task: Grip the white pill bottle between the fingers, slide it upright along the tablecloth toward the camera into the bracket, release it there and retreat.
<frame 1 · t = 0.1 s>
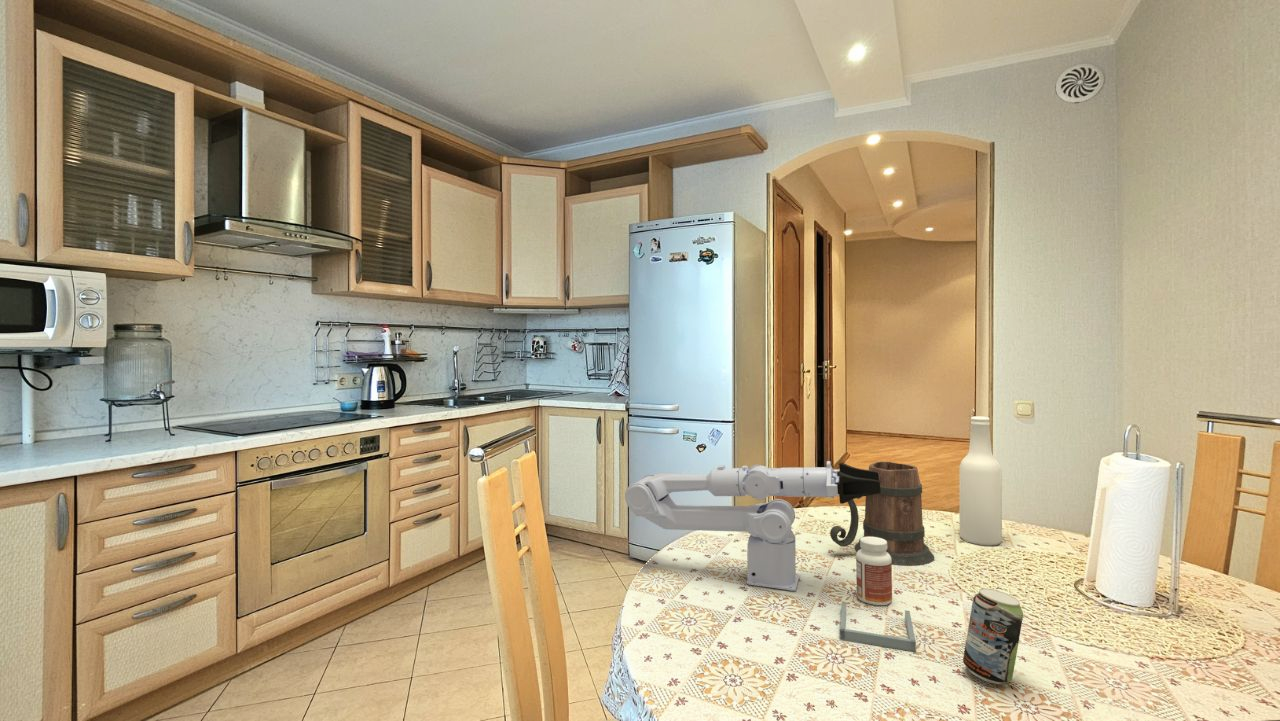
hand: (879, 482, 105), 22 cm above the table, tool horizontal, fingers open, 7 cm apart
beverage can: (992, 678, 79), on the table
pill bottle: (873, 600, 104), on the table
tankard: (880, 553, 128), on the table
alcohol: (980, 541, 135), on the table
bracket: (876, 629, 93), on the table
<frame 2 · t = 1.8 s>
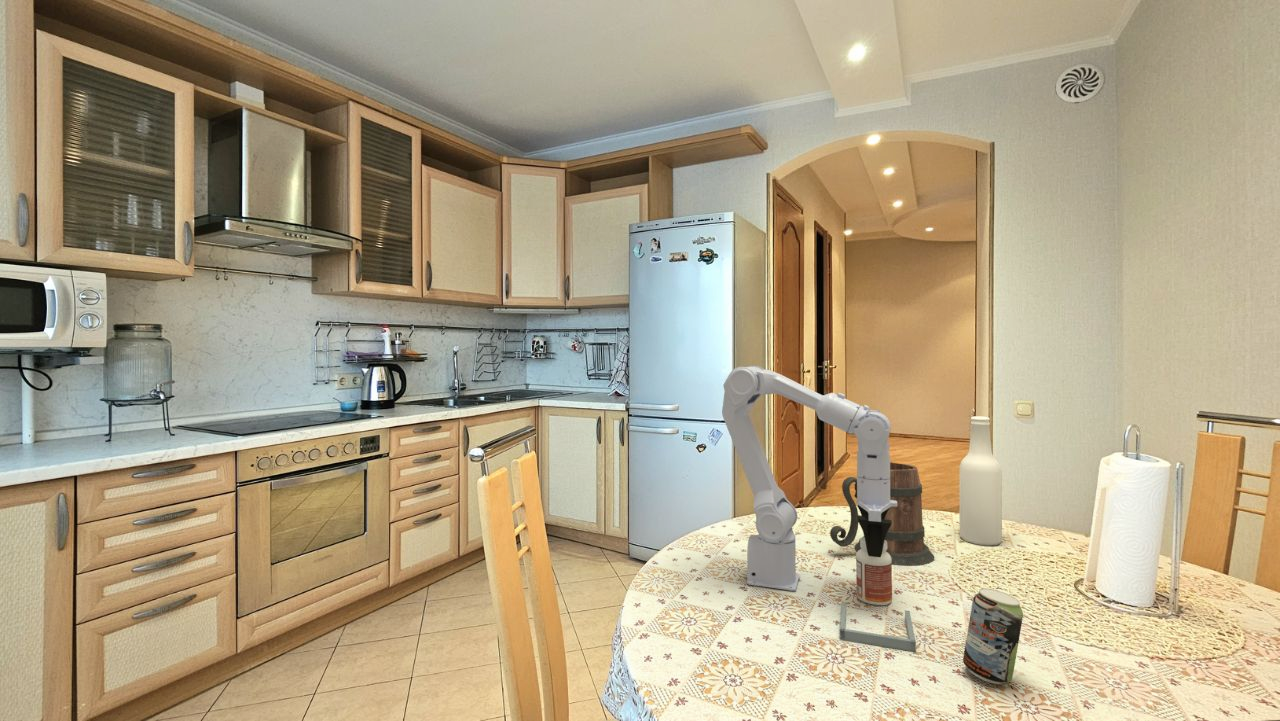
hand: (873, 549, 104), 9 cm above the table, tool pointing down, fingers open, 7 cm apart
nothing on the table moved.
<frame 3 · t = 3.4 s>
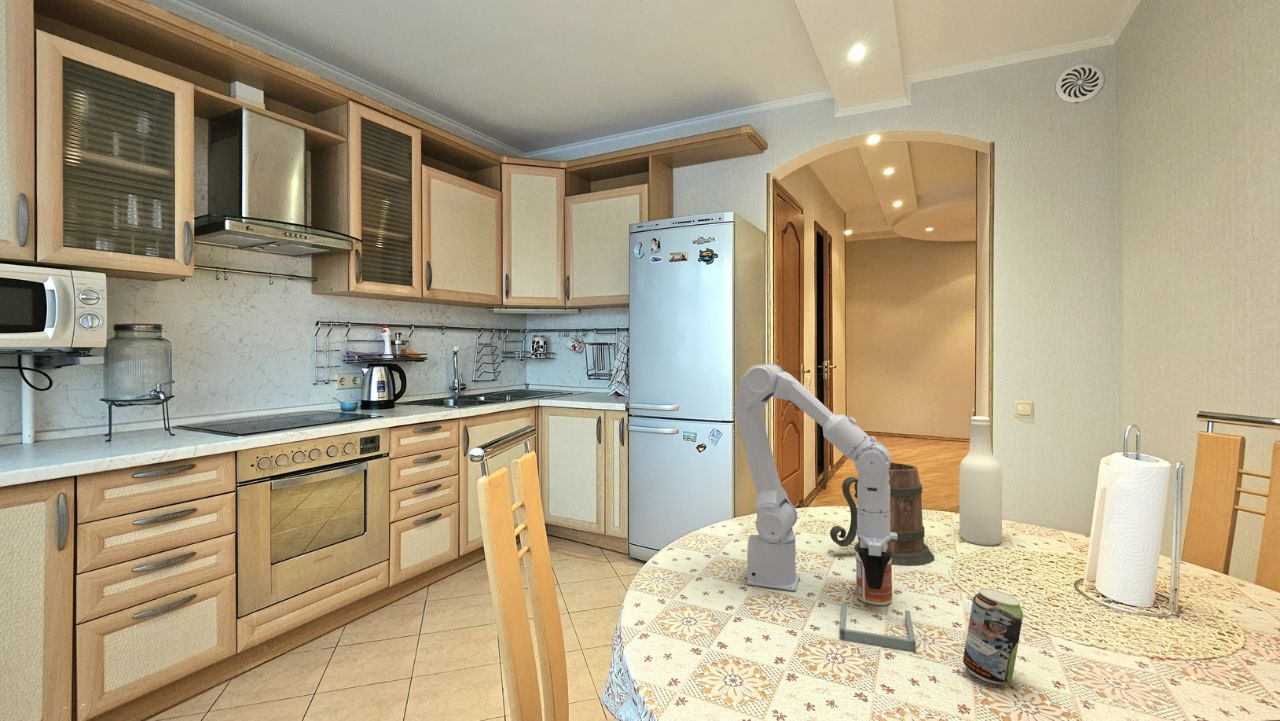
hand: (873, 580, 104), 3 cm above the table, tool pointing down, fingers closed on pill bottle, 6 cm apart
pill bottle: (873, 600, 104), on the table, touching gripper
everything else where it was.
when the fingers open (3 cm above the table, at t = 4.3 s): pill bottle moves 6 cm, on the table.
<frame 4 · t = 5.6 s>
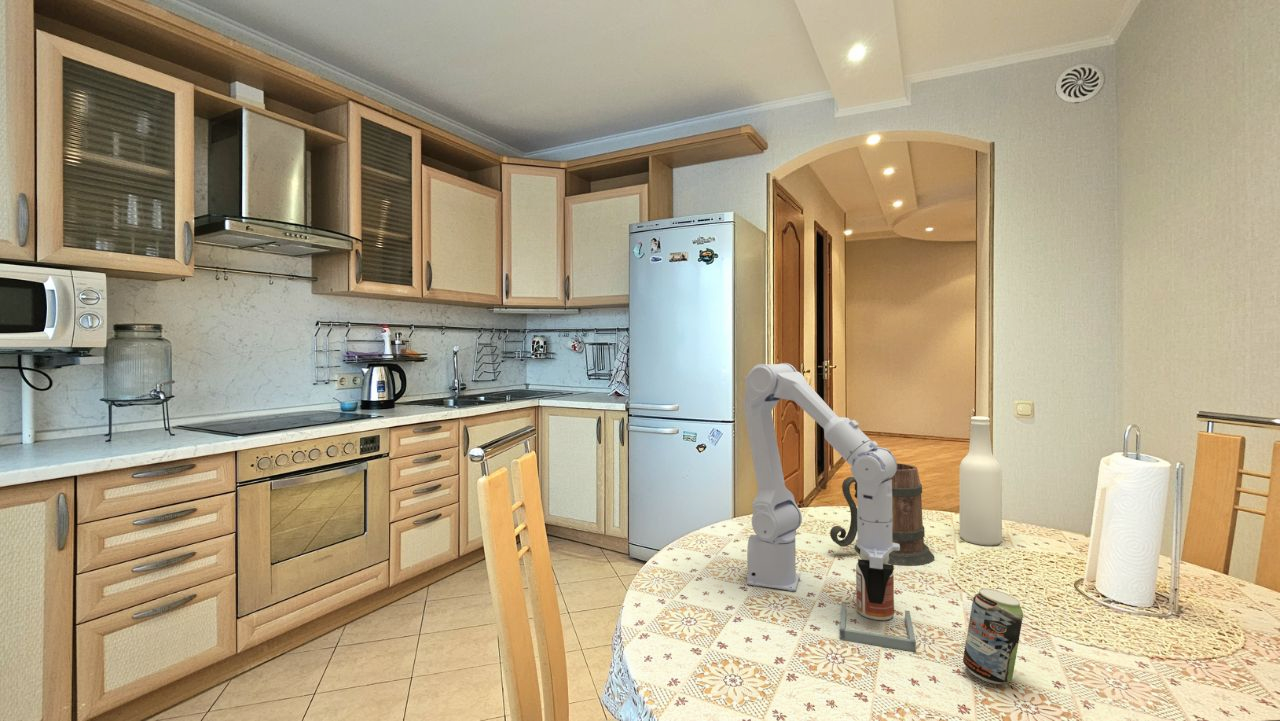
hand: (874, 594, 98), 3 cm above the table, tool pointing down, fingers open, 6 cm apart
pill bottle: (874, 614, 99), on the table, touching gripper
everything else where it was.
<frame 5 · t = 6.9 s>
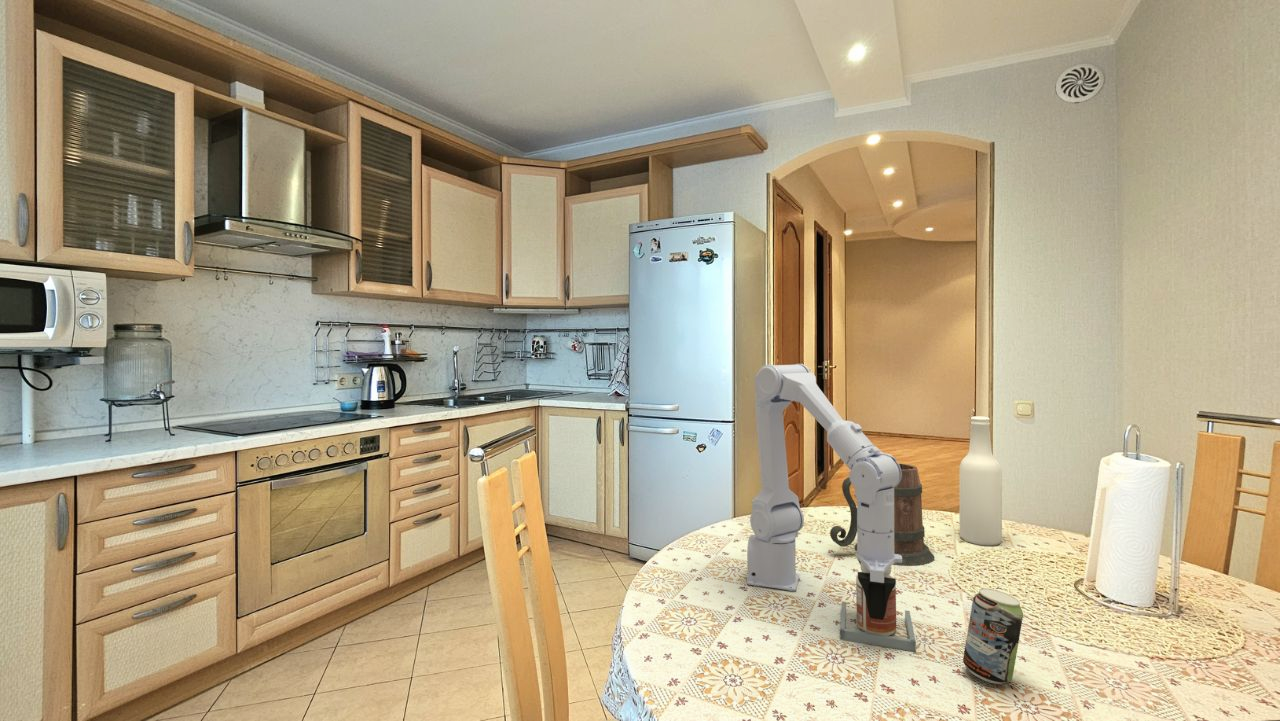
hand: (875, 608, 93), 3 cm above the table, tool pointing down, fingers open, 6 cm apart
pill bottle: (876, 629, 93), on the table, touching gripper
everything else where it was.
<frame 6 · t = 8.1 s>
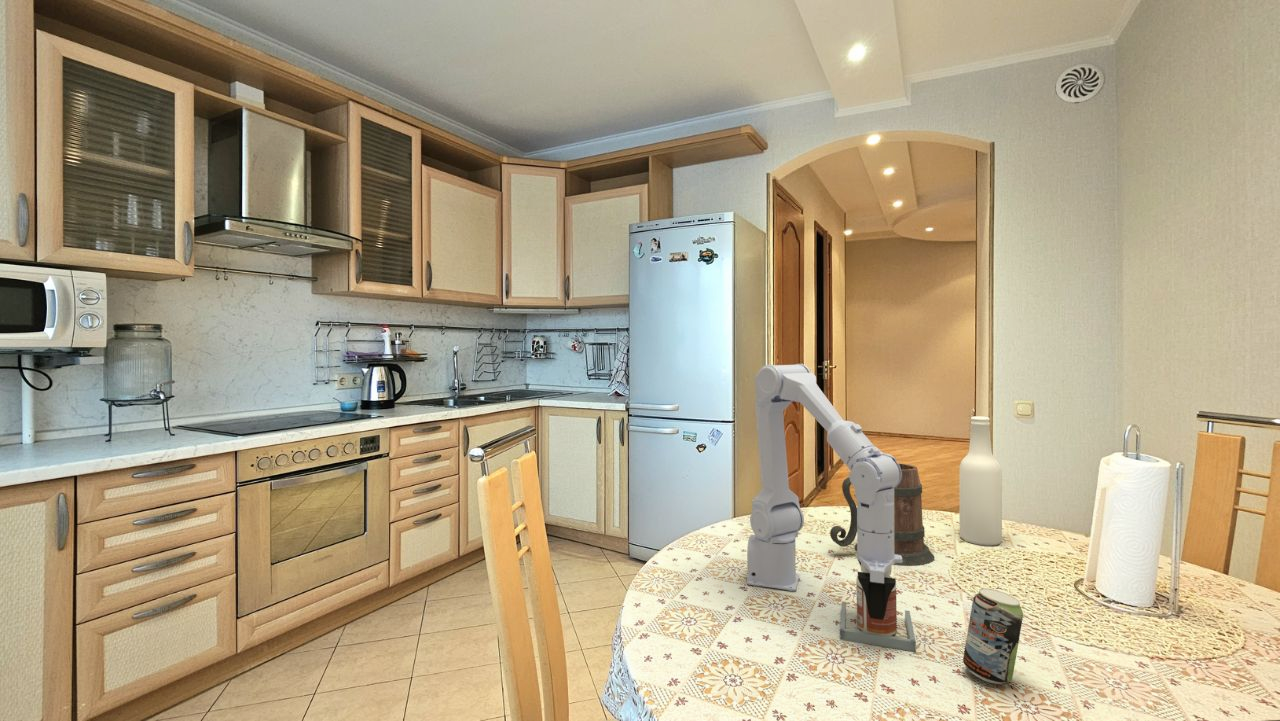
hand: (875, 608, 93), 3 cm above the table, tool pointing down, fingers closed on pill bottle, 6 cm apart
pill bottle: (876, 630, 93), on the table, touching gripper
everything else where it was.
when the fingers open (3 cm above the table, at t = 8.3 s): pill bottle stays where it is, on the table.
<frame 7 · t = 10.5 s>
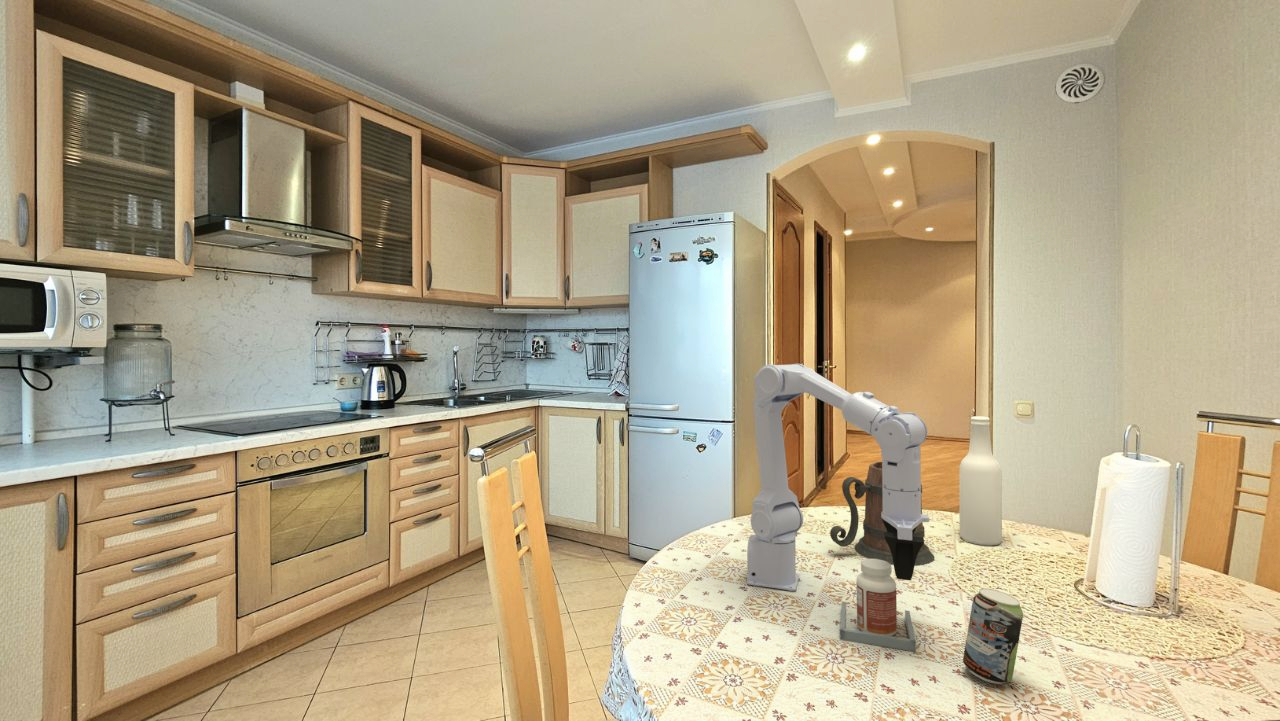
hand: (902, 570, 91), 11 cm above the table, tool pointing down, fingers open, 7 cm apart
pill bottle: (876, 630, 93), on the table
everything else where it was.
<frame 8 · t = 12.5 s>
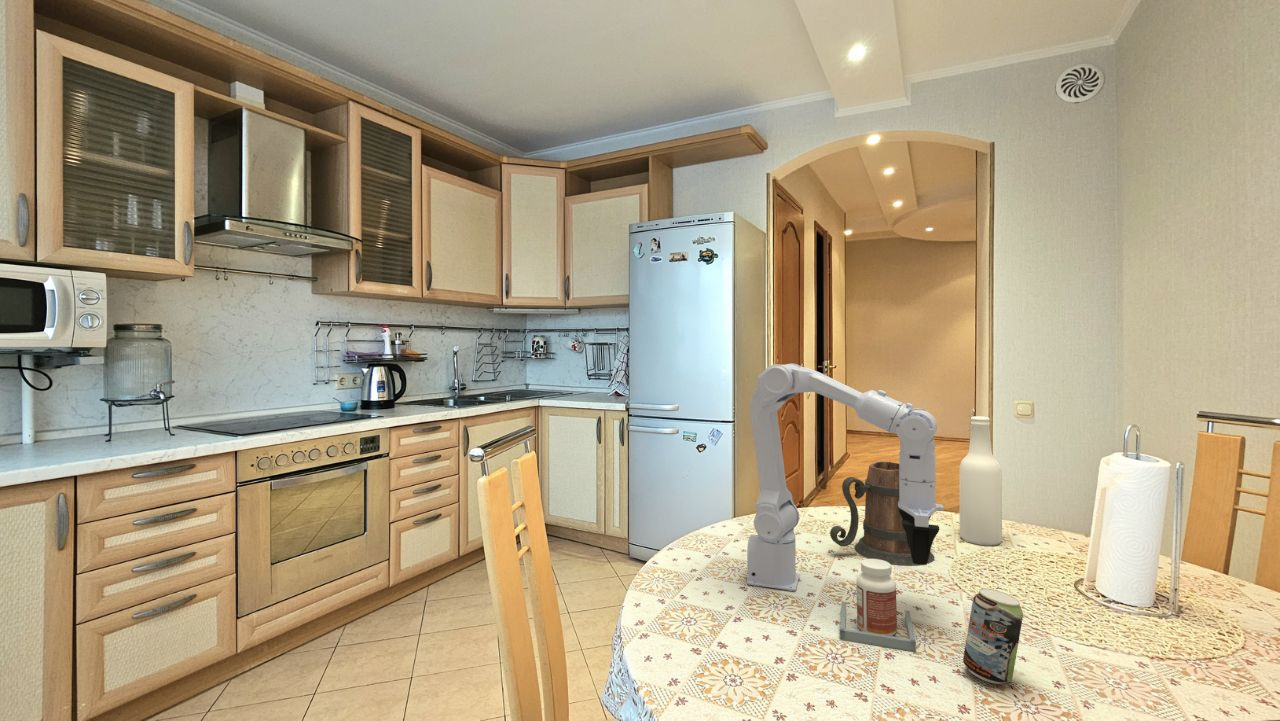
hand: (917, 555, 98), 10 cm above the table, tool pointing down, fingers open, 7 cm apart
nothing on the table moved.
at the end: pill bottle 0.1 cm off-centre on the bracket, point 0.0 cm above the bracket's base; pill bottle tilted 0°; the gripper is holding nothing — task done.
